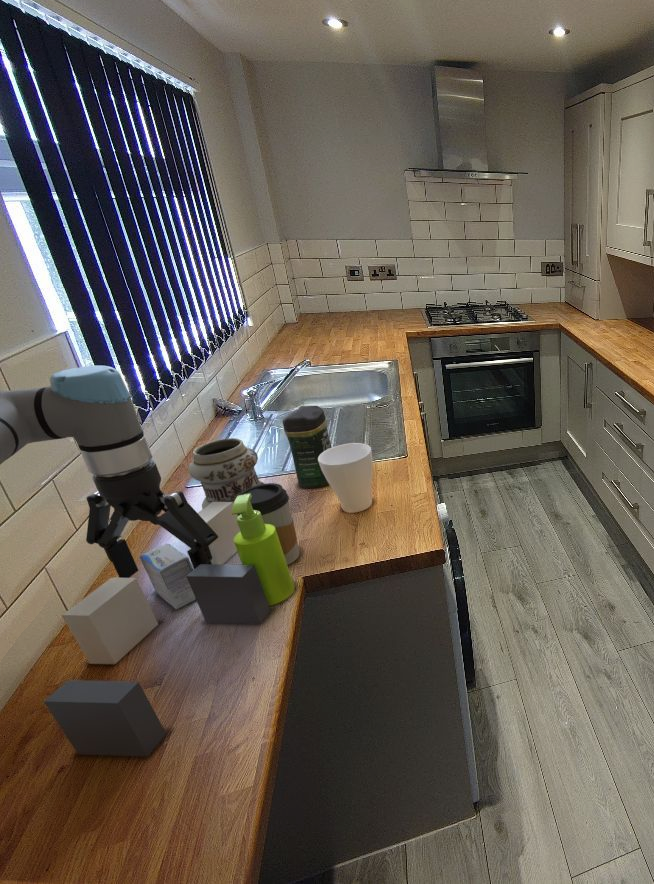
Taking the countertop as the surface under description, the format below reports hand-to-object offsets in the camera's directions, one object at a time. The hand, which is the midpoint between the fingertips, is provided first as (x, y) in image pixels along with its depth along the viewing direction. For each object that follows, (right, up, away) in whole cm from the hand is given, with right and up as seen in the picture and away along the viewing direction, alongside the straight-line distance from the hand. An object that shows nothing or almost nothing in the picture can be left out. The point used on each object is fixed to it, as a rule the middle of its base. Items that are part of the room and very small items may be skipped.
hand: (168, 576), depth 89 cm
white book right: (+1, +1, +12) cm, 12 cm away
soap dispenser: (+18, -4, +1) cm, 18 cm away
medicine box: (+1, -4, +2) cm, 5 cm away
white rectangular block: (0, -8, -8) cm, 12 cm away
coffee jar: (+5, +13, +39) cm, 42 cm away
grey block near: (+13, -15, -23) cm, 31 cm away
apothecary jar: (-3, +5, +23) cm, 24 cm away
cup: (+20, +8, +28) cm, 35 cm away
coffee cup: (+13, 0, +11) cm, 17 cm away
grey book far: (+14, -6, -3) cm, 16 cm away
